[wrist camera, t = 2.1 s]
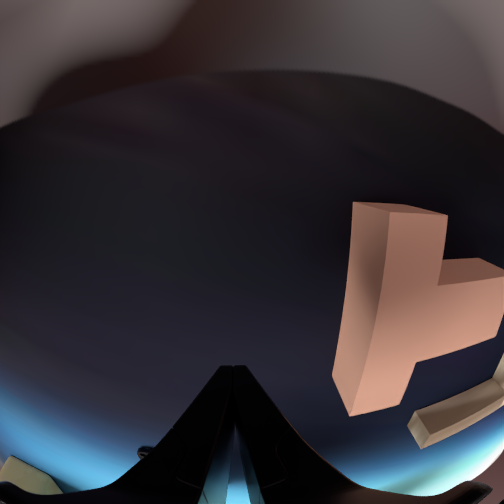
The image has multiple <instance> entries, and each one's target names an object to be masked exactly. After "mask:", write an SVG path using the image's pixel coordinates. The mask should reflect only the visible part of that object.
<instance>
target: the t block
mask: <svg viewBox="0 0 504 504" xmlns="http://www.w3.org/2000/svg"><path fill="white" fill-rule="evenodd" d="M447 220H448V215H444V214H440V213H437V212H433V211H429V210H425V209H421V208H417V207H413V206H409V205H404V204H388V203H369V202H353V212H352V229H351V243H350V255H349V266H348V275H347V284H346V293H345V301H344V308H343V315H342V322H341V328H340V334H339V340H338V346H337V352H336V357H335V363H334V368H333V373H332V377H333V380H334V382H335V384H336V386H337V389H338V391H339V393H340V395H341V398H342V400H343V402H344V405H345V407H346V409H347V411H348V414H349V416H354V415H359V414H364V413H368V412H372V411H376V410H380V409H384V408H388V407H392V406H396V405H399V404H400V401H401V399H402V397H403V394H404V392H405V389H406V387H407V385H408V382H409V379H410V377H411V374H412V372H413V369H414V366H415V363H416V362H419V361H422V360H426V359H430V358H433V357H437V356H440V355H444V354H447V353H450V352H453V351H456V350H460V349H463V348H466V347H468V346H471V345H474V344H477V343H480V342H482V341H485V340H488V339H490V338H493V337H495V336H496V334H497V331H498V328H499V326H500V323H501V320H502V317H503V314H504V270H503V269H501V268H499V267H497V266H495V265H493V264H491V263H489V262H486V261H484V260H482V259H480V258H467V259H448V260H442V258H443V252H444V245H445V238H446V229H447Z"/></svg>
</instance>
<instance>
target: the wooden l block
mask: <svg viewBox="0 0 504 504" xmlns="http://www.w3.org/2000/svg"><path fill="white" fill-rule="evenodd" d="M503 405H504V354H503V356H502V358H501V360H500V363H499V365H498V367H497V369H496V371H495V373H494V375H493V377H492V378H491V379H489V380H487V381H485V382H483V383H481V384H479V385H477V386H475V387H473V388H471V389H469V390H467V391H465V392H462V393H460V394H458V395H456V396H453V397H451V398H448V399H446V400H444V401H441V402H438V403H436V404H433V405H431V406H428V407H425V408H422V409H419V410H416V411H415V412H414V414H413V416H412V418H411V419H410V421H409V423H408V425H407V426H408V428H409V430H410V432H411V433H412V435H413V437H414V438H415V440H416V442H417V443H418V445H419V447H420V449H422V448H425V447H427V446H429V445H432V444H434V443H436V442H438V441H440V440H443V439H445V438H447V437H449V436H451V435H453V434H455V433H457V432H459V431H461V430H463V429H465V428H466V427H468V426H470V425H472V424H474V423H475V422H477V421H479V420H481V419H482V418H484V417H486V416H487V415H489V414H490V413H492V412H494V411H495V410H497V409H498V408H500V407H501V406H503Z"/></svg>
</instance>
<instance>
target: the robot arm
mask: <svg viewBox="0 0 504 504" xmlns="http://www.w3.org/2000/svg"><path fill="white" fill-rule="evenodd" d="M235 426H236V433H237V438H238V444H239V449H240V454H241V459H242V464H243V469H244V474H245V479H246V484H247V489H248V493H249V498H250V502H251V504H478V503H479V502H480V501H481V500H483V498H485V497H486V496H487V495H488V494H489V493H490V492H491V491H492V490H493V489H492V488H491V487H490V486H488V485H486V484H484V483H480V482H473V481H465V482H463V483H461V484H459V485H457V486H455V487H454V488H452V489H450V490H448V491H446V492H444V493H442V494H438V495H434V496H413V495H405V494H398V493H392V492H386V491H380V490H375V489H370V488H366V487H363V486H361V485H359V484H357V483H355V482H353V481H351V480H350V479H349V478H347V477H346V476H345V475H343V474H342V473H341V472H340V471H338V470H337V469H336V468H335V467H333V466H332V465H331V464H330V463H329V462H327V461H326V460H325V459H324V458H323V457H321V456H320V455H319V454H318V453H317V452H316V451H315V450H314V449H313V448H312V447H310V446H309V445H308V444H307V442H306V441H305V440H304V439H303V438H302V437H301V436H300V435H299V433H298V432H297V431H296V430H295V429H294V427H292V425H291V424H290V423H289V421H288V420H287V419H286V418H285V416H284V415H283V414H282V413H281V411H280V410H279V409H278V407H277V406H276V405H275V404H274V402H273V401H272V400H271V398H270V397H269V396H268V394H267V393H266V392H265V391H264V389H263V388H262V387H261V385H260V384H259V383H258V381H257V380H256V379H255V377H254V376H253V374H252V373H251V372H250V370H249V369H248V368H247V366H245V365H235V366H234V367H233V366H231V365H227V366H220V367H219V368H218V369H217V371H216V372H215V373H214V375H213V376H212V377H211V379H210V380H209V381H208V383H207V384H206V385H205V386H204V388H203V389H202V390H201V392H200V393H199V394H198V395H197V397H196V398H195V399H194V400H193V402H192V403H191V404H190V406H189V407H188V408H187V409H186V411H185V412H184V413H183V414H182V416H181V417H180V418H179V419H178V421H177V422H176V423H175V424H174V426H173V428H171V429H170V430H169V431H168V433H167V434H166V435H165V436H164V437H163V439H162V440H161V441H160V442H159V443H158V444H157V445H156V446H155V447H154V448H153V449H152V450H151V449H144V448H139V449H138V451H137V455H138V456H139V458H140V461H139V462H138V463H137V464H135V465H134V466H133V467H132V468H131V469H130V470H128V471H127V472H126V473H125V474H124V475H122V476H121V477H120V478H119V479H117V480H116V481H114V482H113V483H111V484H109V485H107V486H104V487H101V488H97V489H91V490H85V491H78V492H71V493H62V494H51V495H41V494H34V493H30V492H27V491H25V490H23V489H21V488H20V487H18V486H16V485H15V484H13V483H11V482H9V481H1V482H0V504H226V496H227V488H228V480H229V472H230V464H231V456H232V448H233V440H234V432H235ZM499 504H504V499H503V500H502V501H501V502H500V503H499Z"/></svg>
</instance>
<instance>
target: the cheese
mask: <svg viewBox="0 0 504 504" xmlns="http://www.w3.org/2000/svg"><path fill="white" fill-rule="evenodd" d="M1 481H9V482H11V483H13V484H15V485H16V486H18V487H20V488H21V489H23V490H25V491H27V492H30V493H34V494H41V495H51V494H62V493H63V492H62V491H61V490H60V488H59V487H58V486H57V485H56V483H55V482H54V481H53V479H52V478H51V477H50V476H49V475H48V474H46V473H44V472H42V471H40V470H38V469H36V468H34V467H32V466H30V465H28V464H27V463H25V462H23V461H21V460H19V459H17V458H15V457H13V456H9V457H8V459H7V461H6V462H5V464H4V466H3V468H2V469H1V471H0V482H1Z"/></svg>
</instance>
